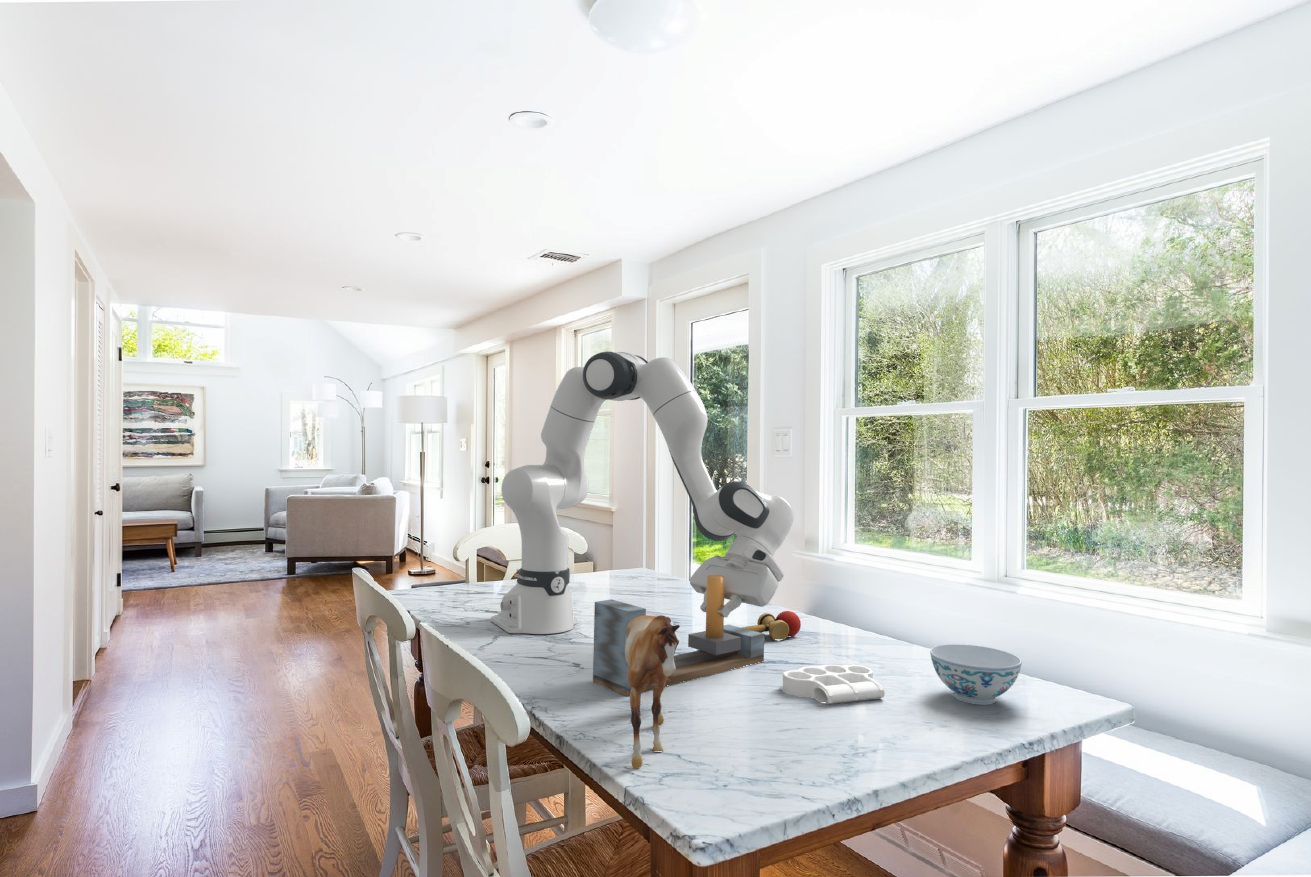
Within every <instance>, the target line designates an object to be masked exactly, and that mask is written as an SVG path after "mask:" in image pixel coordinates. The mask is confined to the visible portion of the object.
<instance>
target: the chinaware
mask: <svg viewBox="0 0 1311 877" xmlns="http://www.w3.org/2000/svg"><path fill="white" fill-rule="evenodd" d="M929 653H930V658H931V662H932V666H933V668H934V671H935V673H936V675H937V676H938V678H939V679H940V680H941V682H942V683H943V684H944V685H945V686H946V687H947V688H948V689H950V691H952V692H953V696H954V698H956V700H959V701H961V702H963V703H967V704H970V705H971V704H973V705H981V706H984V705H987V706H988V705H992V704H994V703H995V701H996V698H998V697H1000V696H1001V695H1003V694H1005V693H1006V692H1008V691H1009V689H1010V688H1012V686H1013V685H1014V684H1015V683H1016V681H1017V679H1018V677H1019V674H1020V672H1021V667H1022V662H1023V661H1022V659H1021V658H1020V657H1019V656H1017V655H1015V654H1013V653H1011V652H1008V651H1005V650H1001V649H997V648H994V647H988V646H987V647H986V646H984V645H983V646H981V645H974V644H973V645H972V644H964V643H963V644H960V643H958V644H957V643H956V644H955V643H954V644H953V643H952V644H950V643H949V644H948V643H947V644H940V645H936V646H932V648H930V650H929Z"/></svg>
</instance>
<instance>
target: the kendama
mask: <svg viewBox="0 0 1311 877" xmlns="http://www.w3.org/2000/svg"><path fill="white" fill-rule="evenodd" d="M801 624H802V622H801V619H800V617H799V616H798V615H797V614H796V613H795V612H793V611H792V610H784V611H781V612H780V613H779V614H778V615H777V616H776V617H775V616H774V615H773V614H771V613H769V612H763V613H762V614H760V616H759V617H758V619H757V624H756V625H755V624H754V625H748V626H743V627H742V626H741V627H740V628H744V629H748V630H752V631H756V632H759V633H766V632H767V633H768V635H769V637H770V638H771V639H772V640H774V641H775V639H784V640H785V639H786V638H788V637H787V636H792V637H795V636H796V635H797V634H799V631H800V630H801Z"/></svg>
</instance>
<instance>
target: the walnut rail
mask: <svg viewBox="0 0 1311 877" xmlns="http://www.w3.org/2000/svg"><path fill="white" fill-rule="evenodd" d="M593 611H594V615H593V617H594V618H593V622H594V623H593V656H592V657H593V662H592V663H593V664H592V669H593V670H592V683H594V684H596V685H598V686H601V685H602V686H601V687H603V686H604V687H603V688H606V689H609V690H610V689H611V691H613V692H615V693H618V694H620V695H622V696H625V697H630V691H631V688H630V686H629V683H628V678H627V675H628V669H629V665H628V664H627V662H626V658H625V644H626V640H627V626H628V624H629V622H630V621H631V620H633V619H634V618H636V617H639V616H644V615H647V608H645V607H641V606H638V605H634V604H630V603H627V602H624V601H623V602H622V601H619V600H615V599H607V600H598V601H594V610H593ZM724 633H727V634H731V635H735V636H738V637H741V650H737V651H733V652H728V653H724V654H720V655H714V654H710V653H707V652H704V651H701V650H694V651H690V652H685V653H681V654H677V655H675V654H674V663H675V667H676V670H675V671H674V672H673V677H671V678H668V679H670V680H671V681H672V682H668V681H666V684H665V686H666V687H668V686H667V685H670V686H674V685H678V684H681V683H680V682H682V683H684V682H683V681H686V682H690V681H693V679H694V680H697V678H698V679H701V678H700V677H702V678H704V677H705V678H706V677H708V676H713V675H716V673H717V674H721V673H724V672H729V671H732V670H731V669H733V670H735V669H734V668H737V669H741V668H744V667H743V666H745V667H747V666H746V665H749V666H751V665H750V664H753V665H756V664H755V663H757V664H759V663H758V662H761V663H763V662H762V661H764V662H765V633H764V632H762V633H759V632H756V631H752V630H748V629H744V628H741V627H739V626H735V625H732V624H726V625H725V624H724ZM740 667H741V668H740ZM728 670H729V671H728ZM712 674H713V675H712ZM650 691H653V688H652V686H650V687H648V688H647V689H645V690H644V691H643V692H642V693H645V692H650Z"/></svg>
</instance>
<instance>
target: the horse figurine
mask: <svg viewBox="0 0 1311 877" xmlns="http://www.w3.org/2000/svg"><path fill="white" fill-rule="evenodd" d="M680 627H681V625H680V624H675V625H672V620H671V618H670V617H669V616H666V615H647V614H646V615H644V616H639V617H636V618H634V619H633V620H631V621H630V622H629V624H628V626H627V640H626V644H625V658H626V662H627V664H628V665H629V669H628V675H627V678H628V683H629V686H630V688H631V691H630V696H629V705H630V711H631V712H630V713H631V715H630V716H631V717H630V722H631V726H632V729H633V744H632V745H633V746H632V749H633V754H632V759H631V767H632V768H633V769H639V767H640V768H641V767H642V765H643V756H642V754H641V750H642V749H641V748H642V744H641V740H640V729H641V725H642V719H641V713H642V712H641V696H642V693H644V692H643V691H644V690H645V689H647V688H648V687H650V686H652V688H653V690H652V704H651V709H650V710H651V714H652V732H651V733H652V735H653V741H652V744H653V746H652V751H653V750H654V751H662V752H664V749H663V746H662V740H661V738H660V734H661V729H660V726H662V725H663V724H664V722H665V718H664V714H663V711H662V708H663V704H662V701H661V697H662V694H663V691H664V689H665V684H666V681H668V682H672V681H671V680H670V679H668V678H671V677H673V672H674V671H675V670H676V667H675V663H674V656H675V653H676V650H677V647H678V645H679V643H680V640H679V639H678V638H677V637H678V636H677V635H676V632H677V630H678V629H679V628H680ZM654 751H653V752H654Z"/></svg>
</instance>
